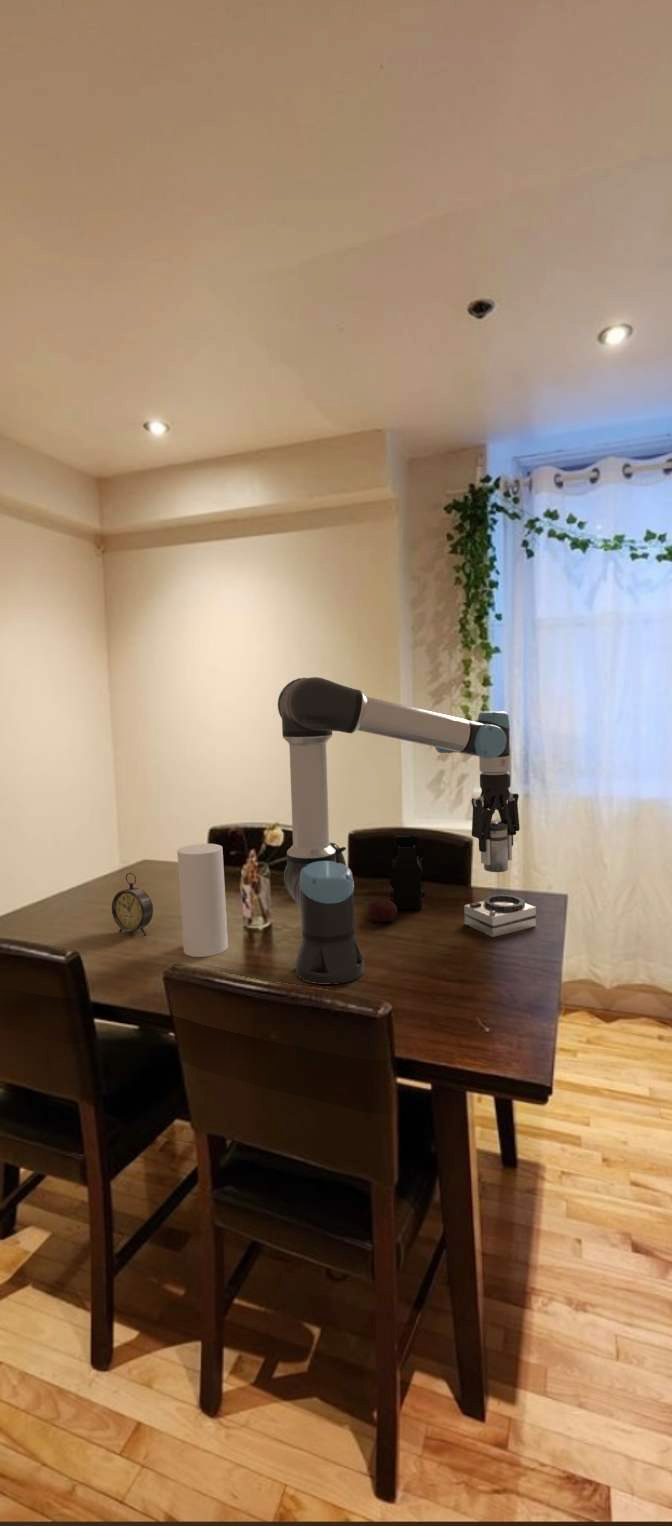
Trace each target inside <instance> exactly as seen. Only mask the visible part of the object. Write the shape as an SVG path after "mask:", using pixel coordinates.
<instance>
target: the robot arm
mask: <svg viewBox="0 0 672 1526" xmlns="http://www.w3.org/2000/svg"><path fill="white" fill-rule="evenodd" d="M277 710H278V714H279V716H280V718H281V729H282V730H281V732H282V733H281V734H282V738H283V739H284V740H285V741H286V742H287V743H288V745H289V746H288V747H289V769H290V770H289V771H290V794H291V795H290V796H291V797H290V798H291V799H290V800H291V826H292V845H291V846H290V848H288V850H286V864H287V865H286V866H285V869H284V873H283V874H284V875H283V879H284V880H283V881H284V885H285V888H286V891H287V892H288V894H289V896H290V897H291V898H293V900H294V901H295V902H296V904H297V905H298V907H299V908H300V911H301V912H300V913H301V933H302V934H301V938H302V939H301V943H300V946H299V949H298V952H297V957H296V961H295V974H296V973H297V974H298V976H300V977H301V978H302V979H304V980H307V981H310V982H316V983H330V984H335V983H343V984H345V983H344V982H347V983H350V982H352V981H355V980H357V979H359V978H360V977H361V976H362V975H363V974H364V972H365V959H364V957H363V955H362V952H361V949H360V946H359V944H358V940H357V938H356V930H355V929H356V927H355V922H356V921H355V898H354V897H355V896H354V894H355V893H354V890H355V882H354V878H353V872H352V870H351V869H350V868H349V866H346V865H347V864H346V865H344V864H341V863H336V850H335V848H333V847H332V846H331V845H330V843H331V842H330V829H329V799H328V798H329V796H328V795H329V794H328V769H327V768H328V766H327V765H328V763H327V761H328V759H327V757H328V756H327V742H328V741H329V740H330V739H331V738H332V737H333V732H342V733H346V734H352V735H353V733H355V732H356V731H358V732H364V733H367V734H373V735H379V736H383V737H387V738H391V739H395V740H396V739H397V740H401V741H407V742H411V743H415V744H420V745H425V746H430V747H434V749H435V750H436V752H438V753H440V754H453V753H458V754H464V755H471V756H474V757H478V759H479V763H478V765H479V772H481V773H480V774H479V787H480V789H481V793H480V796H478V797H477V798H475V797H473V798H471V801H470V802H471V805H472V818H471V819H472V820H471V821H472V822H471V837H472V838H477V839H478V851H479V852H480V864H483V865H484V864H486V865H490V839H487V837H488V832H489V828H490V824H491V821H493V815H494V814H495V813H496V810H497V811H498V812H497V813H498V814H499V815H498V816H499V817H500V821H504V822H507V823H508V829H507V831H508V862H509V861H512V860H513V853H512V852H513V849H512V848H513V846H514V836H516V835H517V832H520V829H521V828H520V818H519V815H520V814H519V805H518V802H519V797H520V796H519V794H518V793H516V792H515V793H514V792H510V790H509V788H510V787H511V774H510V773H509V772H510V771H511V757H510V756H511V755H510V752H511V751H510V750H511V749H510V747H511V745H510V735H511V734H510V732H511V731H510V730H511V728H510V719H509V714H508V712H507V711H500V710H497V711H493V710H492V711H481V712H479V713H478V716H477V717H478V718H477V720H468V719H465V718H460V717H456V716H452V715H449V714H443V713H439V712H435V711H431V710H426V709H421V708H417V707H413V706H409V705H405V704H401V703H395V702H390V701H386V700H382V699H378V698H374V697H369V696H365V695H364V692H363V691H362V690H360V689H357V688H352V687H349V686H345V685H343V684H340V683H336V682H334V681H331V680H329V679H326V678H323V677H317V676H315V677H313V676H311V677H300V678H299V677H298V678H296V679H294V680H291V681H290V682H288V683H286V685H285V686H284V687H283V688H282V690H281V691H280V693H279V695H278V699H277ZM298 976H297V977H298ZM349 981H350V982H349Z"/></svg>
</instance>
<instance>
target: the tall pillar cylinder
mask: <svg viewBox="0 0 672 1526" xmlns="http://www.w3.org/2000/svg"><path fill="white" fill-rule="evenodd" d="M223 849H224V848H223V846H222V845H220V844H216V843H194V844H189V845H185V846H182V847H179V848H178V849H177V851H176V853H177V868H178V882H179V897H180V915H181V929H182V930H181V931H182V945H183V953H184V954H185V955H187V956H189V957H193V958H194V957H196V958H206V957H207V958H208V957H213V956H217V955H219V954H221V953H223V952H225V951H226V950H227V949H228V947H229V939H228V926H227V925H228V924H227V923H228V922H227V921H228V920H227V906H226V905H227V904H226V903H227V902H226V886H225V870H224V853H223V852H224V851H223Z"/></svg>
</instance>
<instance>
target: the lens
mask: <svg viewBox="0 0 672 1526" xmlns="http://www.w3.org/2000/svg"><path fill="white" fill-rule="evenodd" d="M507 829H508V823H507V822H504V821H501V820H491V824H490V828H489V832H488V837H487V839H490V865H486V864H483V869H484V871H486V872H490V873H503V872H507V871H508V870H509V860H508V831H507Z"/></svg>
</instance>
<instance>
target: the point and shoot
mask: <svg viewBox="0 0 672 1526" xmlns="http://www.w3.org/2000/svg"><path fill="white" fill-rule="evenodd" d="M463 909H464V925H466V926H468V927H471V928H472V929H475V930H477V931H478V932H480V933H484V934H485V935H486V936H487V935H488V936H490V937H492V938H495V937H498V936H502V935H506V934H511V933H514V932H518V931H522V930H527V929H530V928H534V927H536V926H537V920H536V919H537V917H536V916H537V913H536V911H537V910H536V909H537V907H536V906H534V905H531V904H528V903H526V901H525V900H524V898H522V897H520V896H516V895H511V894H494V895H493V894H492V895H488V896H486V897H485V898H484V899H483V900H482V901H476V902H472V903H468V904H465V905H464V908H463Z"/></svg>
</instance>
